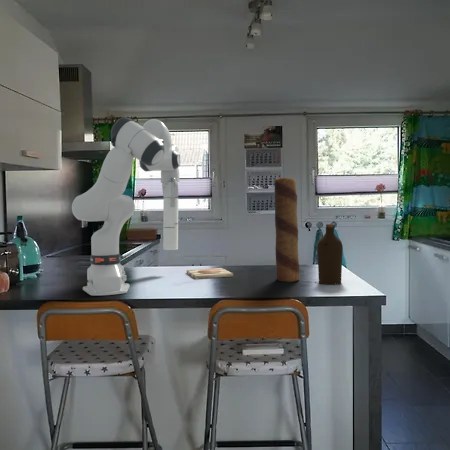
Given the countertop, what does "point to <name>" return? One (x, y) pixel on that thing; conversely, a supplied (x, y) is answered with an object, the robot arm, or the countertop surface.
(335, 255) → the olive oil
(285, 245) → the wafer roll
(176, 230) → the cylindrical container
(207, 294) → the countertop surface
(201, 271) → the seat board
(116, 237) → the robot arm
